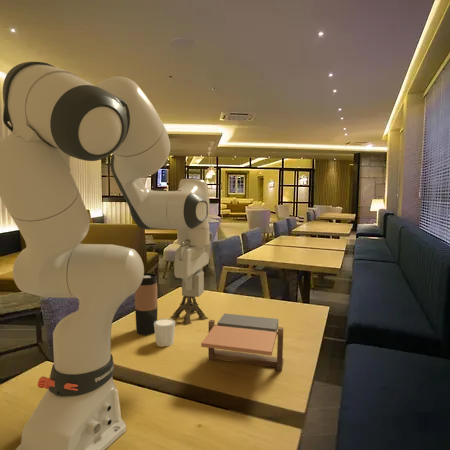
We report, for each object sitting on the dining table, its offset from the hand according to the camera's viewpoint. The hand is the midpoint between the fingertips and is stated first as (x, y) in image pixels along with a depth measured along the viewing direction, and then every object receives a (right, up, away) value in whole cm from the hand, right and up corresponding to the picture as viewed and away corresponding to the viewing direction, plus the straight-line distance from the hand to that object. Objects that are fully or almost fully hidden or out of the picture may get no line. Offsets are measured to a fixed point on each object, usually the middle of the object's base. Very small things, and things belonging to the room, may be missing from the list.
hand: (193, 286), depth 98 cm
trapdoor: (+14, -14, 0) cm, 20 cm away
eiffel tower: (-5, -19, +38) cm, 43 cm away
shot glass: (-11, -22, +16) cm, 29 cm away
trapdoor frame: (+15, -23, +4) cm, 28 cm away
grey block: (0, -2, 0) cm, 2 cm away
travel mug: (-19, -20, +25) cm, 38 cm away
